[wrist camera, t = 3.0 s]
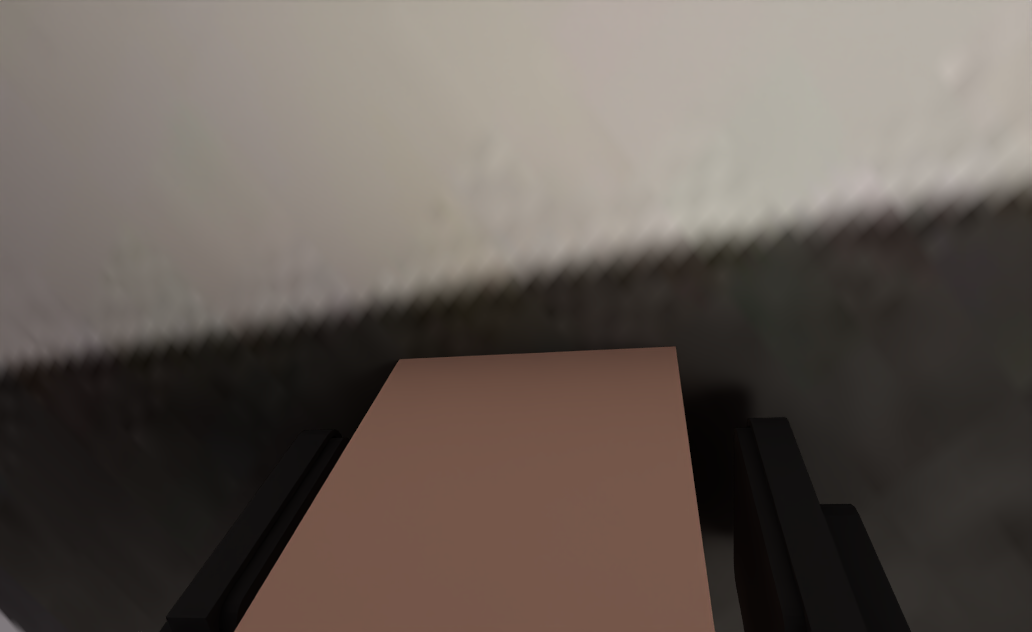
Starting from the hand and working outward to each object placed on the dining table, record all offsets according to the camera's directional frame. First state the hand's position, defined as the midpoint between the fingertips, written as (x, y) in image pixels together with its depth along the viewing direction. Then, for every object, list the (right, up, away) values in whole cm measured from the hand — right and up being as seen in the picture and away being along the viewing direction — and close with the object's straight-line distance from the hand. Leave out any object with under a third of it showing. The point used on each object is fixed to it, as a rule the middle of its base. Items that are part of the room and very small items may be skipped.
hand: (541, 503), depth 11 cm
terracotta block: (0, 0, +1) cm, 1 cm away
